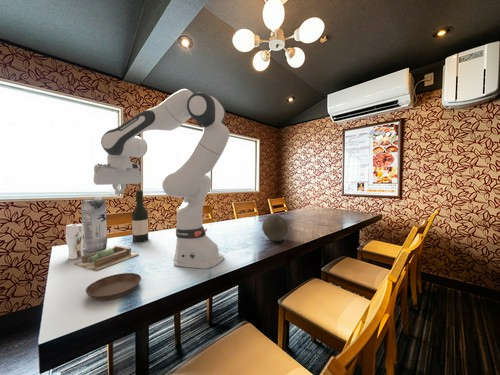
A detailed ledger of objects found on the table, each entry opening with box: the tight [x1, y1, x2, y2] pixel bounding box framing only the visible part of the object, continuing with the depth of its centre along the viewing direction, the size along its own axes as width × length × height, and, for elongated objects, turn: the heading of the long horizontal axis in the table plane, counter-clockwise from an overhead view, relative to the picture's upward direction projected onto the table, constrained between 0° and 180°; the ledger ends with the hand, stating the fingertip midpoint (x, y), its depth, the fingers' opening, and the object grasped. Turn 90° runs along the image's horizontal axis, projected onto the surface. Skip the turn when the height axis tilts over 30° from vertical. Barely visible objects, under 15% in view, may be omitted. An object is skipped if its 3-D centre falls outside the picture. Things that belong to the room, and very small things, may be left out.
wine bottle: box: [131, 189, 149, 243], centre depth 119 cm, size 8×8×30 cm
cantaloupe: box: [261, 214, 289, 242], centre depth 115 cm, size 14×14×15 cm
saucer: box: [85, 272, 142, 301], centre depth 65 cm, size 15×15×3 cm
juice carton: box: [80, 196, 108, 253], centre depth 104 cm, size 9×10×27 cm
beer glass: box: [65, 223, 86, 260], centre depth 93 cm, size 7×7×15 cm
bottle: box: [87, 247, 115, 263], centre depth 87 cm, size 4×4×9 cm
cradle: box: [73, 245, 140, 272], centre depth 90 cm, size 16×18×4 cm
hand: (119, 194), depth 95 cm, fingers closed
